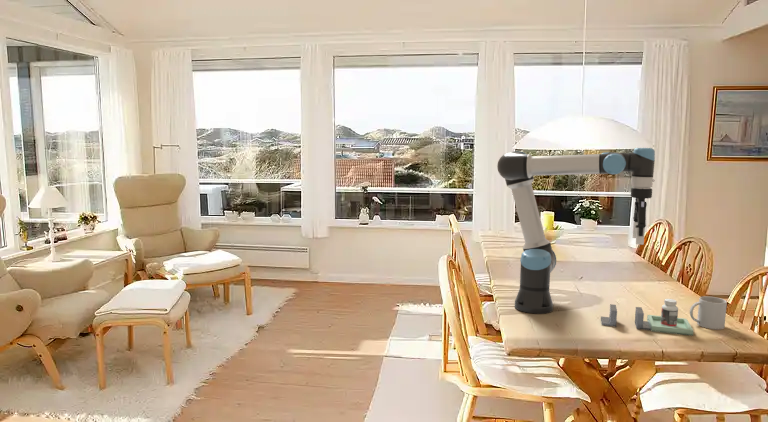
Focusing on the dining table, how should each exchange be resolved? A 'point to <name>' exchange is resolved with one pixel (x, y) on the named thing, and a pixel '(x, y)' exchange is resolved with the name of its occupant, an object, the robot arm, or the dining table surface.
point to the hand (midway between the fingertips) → (637, 241)
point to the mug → (710, 312)
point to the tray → (681, 328)
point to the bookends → (638, 318)
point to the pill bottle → (669, 313)
